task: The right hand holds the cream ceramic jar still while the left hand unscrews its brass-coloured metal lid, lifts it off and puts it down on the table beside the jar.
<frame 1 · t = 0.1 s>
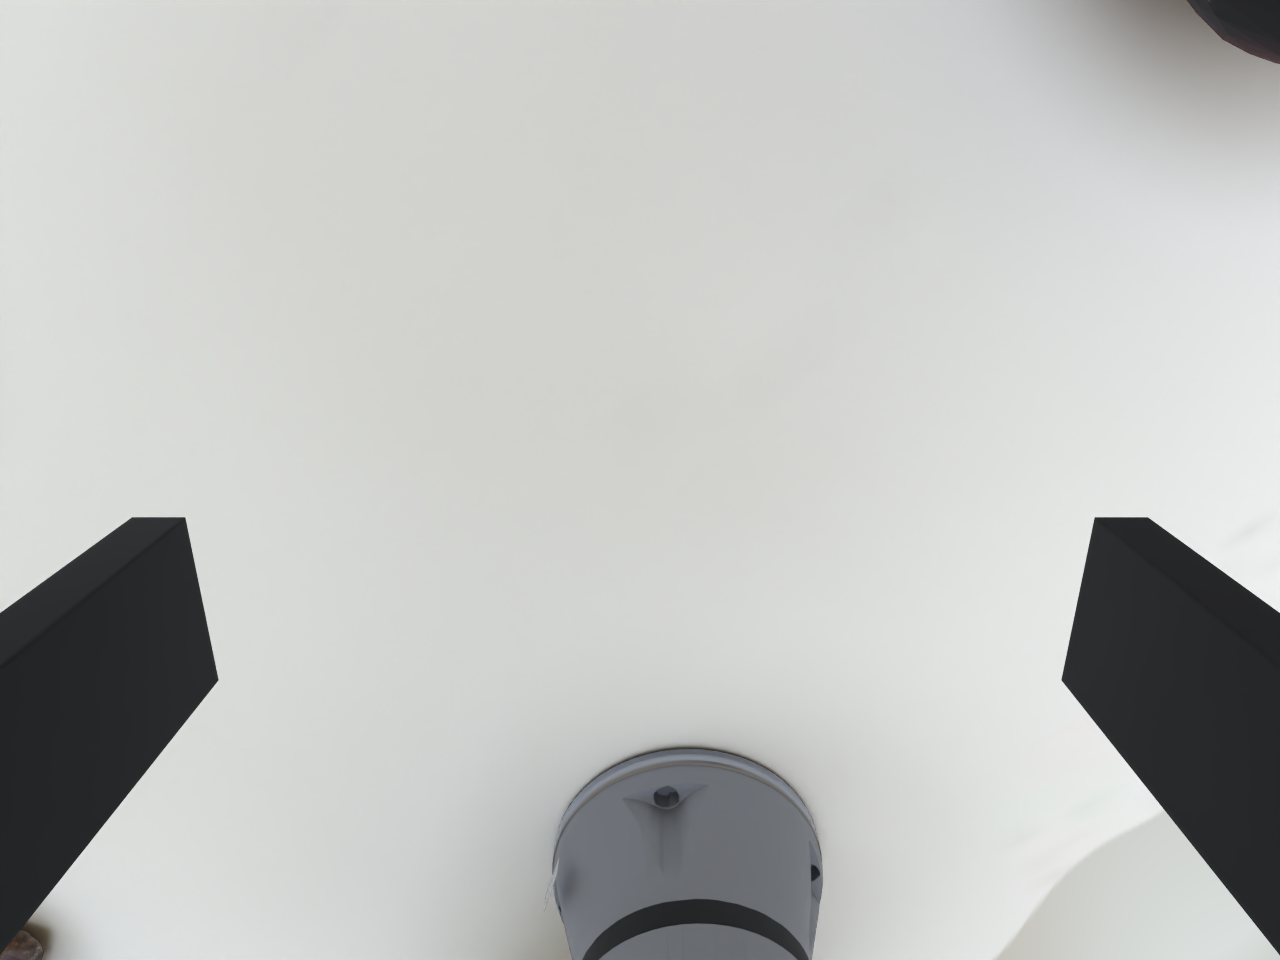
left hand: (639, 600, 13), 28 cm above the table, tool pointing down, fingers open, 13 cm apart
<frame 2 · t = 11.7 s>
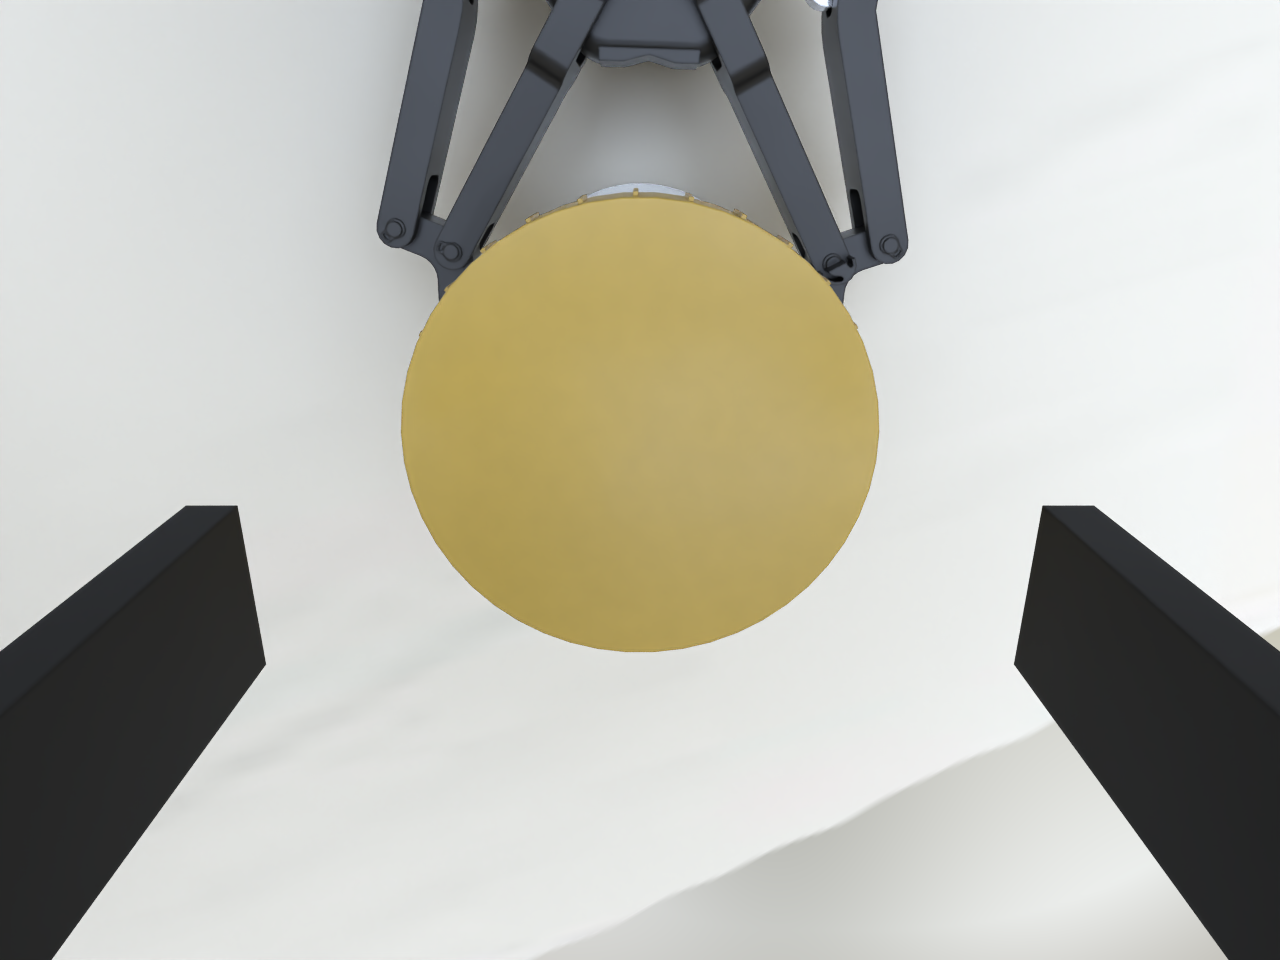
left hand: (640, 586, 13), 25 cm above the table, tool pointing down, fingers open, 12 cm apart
lid: (640, 442, 20), point 18 cm above the table, screwed on, not yet turned
jar: (640, 308, 36), on the table, touching right hand
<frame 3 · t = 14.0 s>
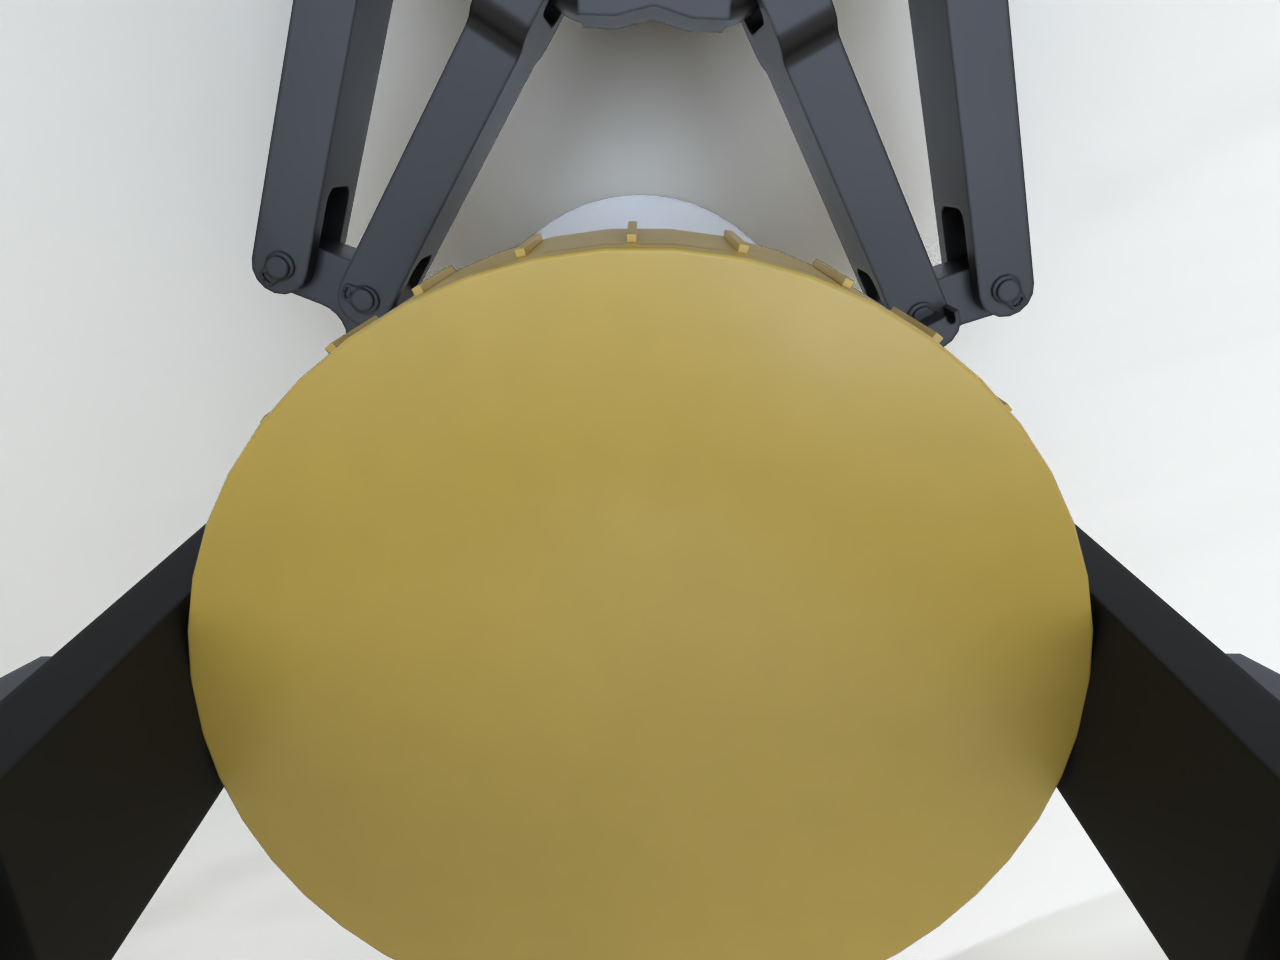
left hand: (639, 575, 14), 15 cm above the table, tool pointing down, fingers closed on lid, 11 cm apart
lid: (640, 689, 11), point 18 cm above the table, screwed on, not yet turned, touching left hand
jar: (639, 360, 27), on the table, touching right hand
when the left hand's fingers open (15 cm above the table, at t = 15.5 s): lid stays where it is, point 18 cm above the table.
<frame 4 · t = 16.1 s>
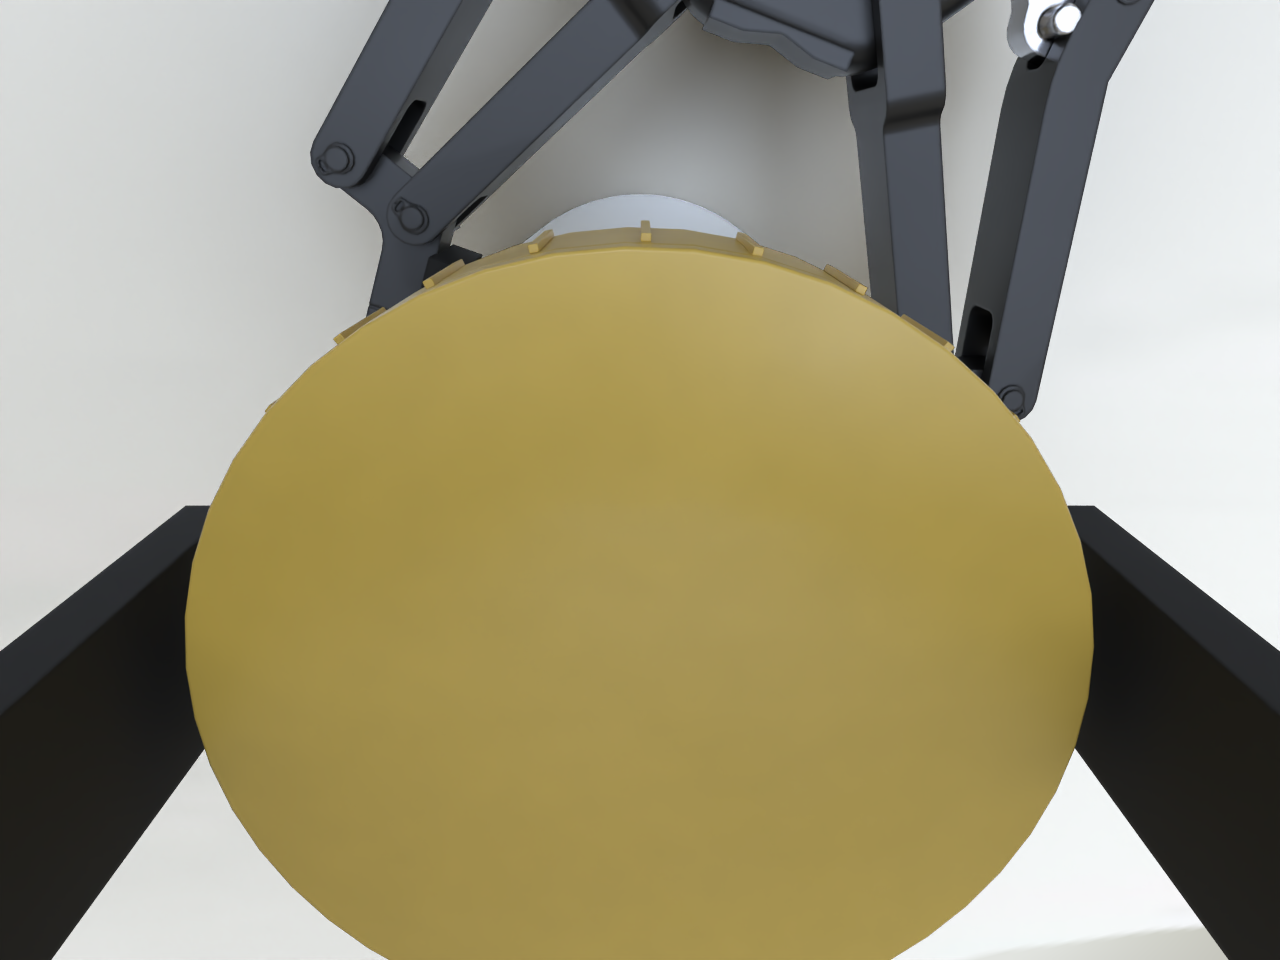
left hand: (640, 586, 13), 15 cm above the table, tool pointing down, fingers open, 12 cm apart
lid: (639, 691, 11), point 18 cm above the table, turned 90° so far, risen 0.3 cm, still on its thread
jar: (639, 358, 27), on the table, touching right hand
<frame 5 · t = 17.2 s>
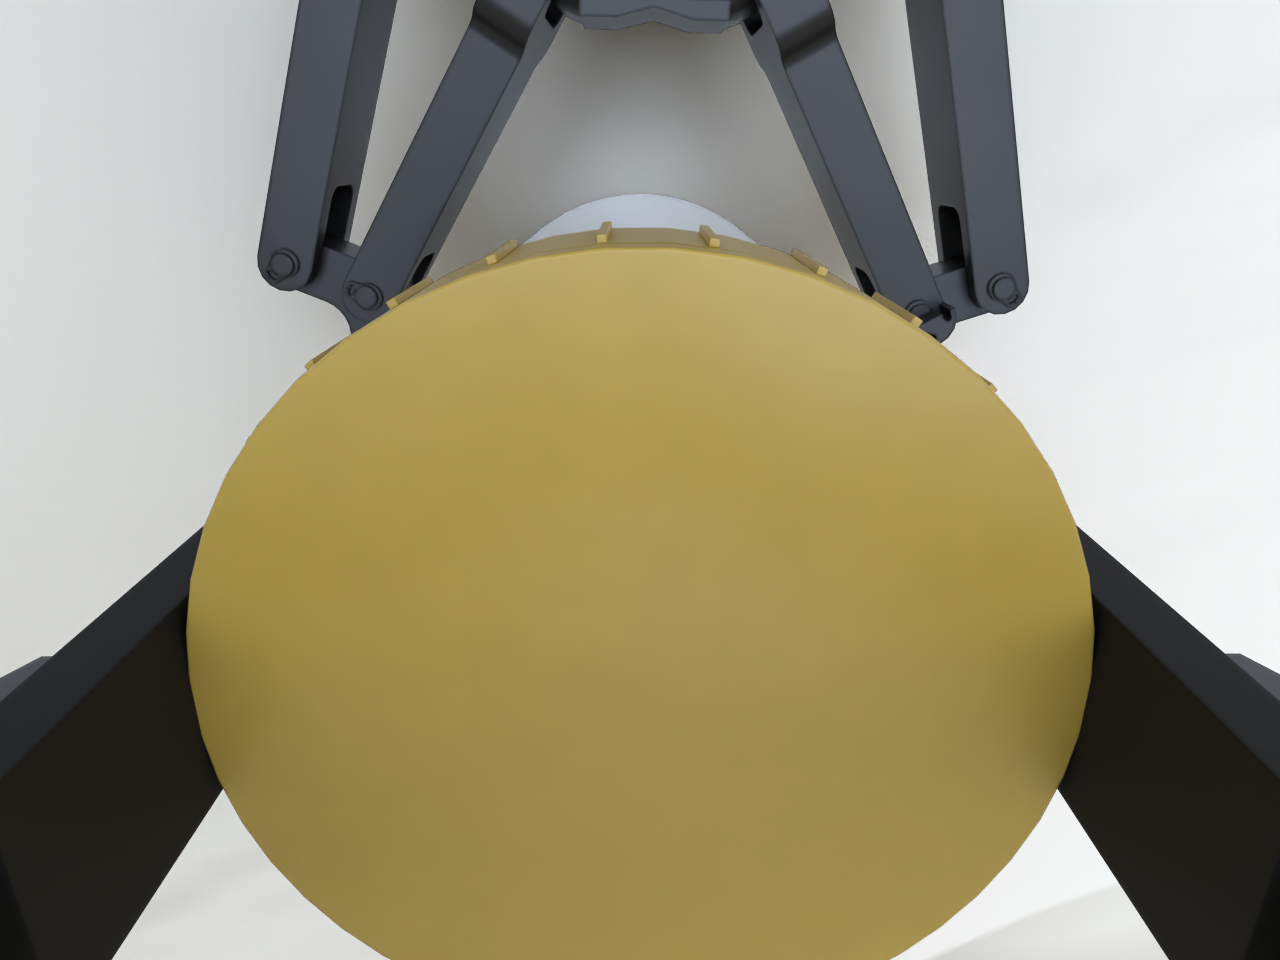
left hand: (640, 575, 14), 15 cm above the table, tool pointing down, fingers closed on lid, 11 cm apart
lid: (640, 690, 11), point 18 cm above the table, turned 90° so far, risen 0.3 cm, still on its thread, touching left hand
jar: (640, 358, 27), on the table, touching right hand
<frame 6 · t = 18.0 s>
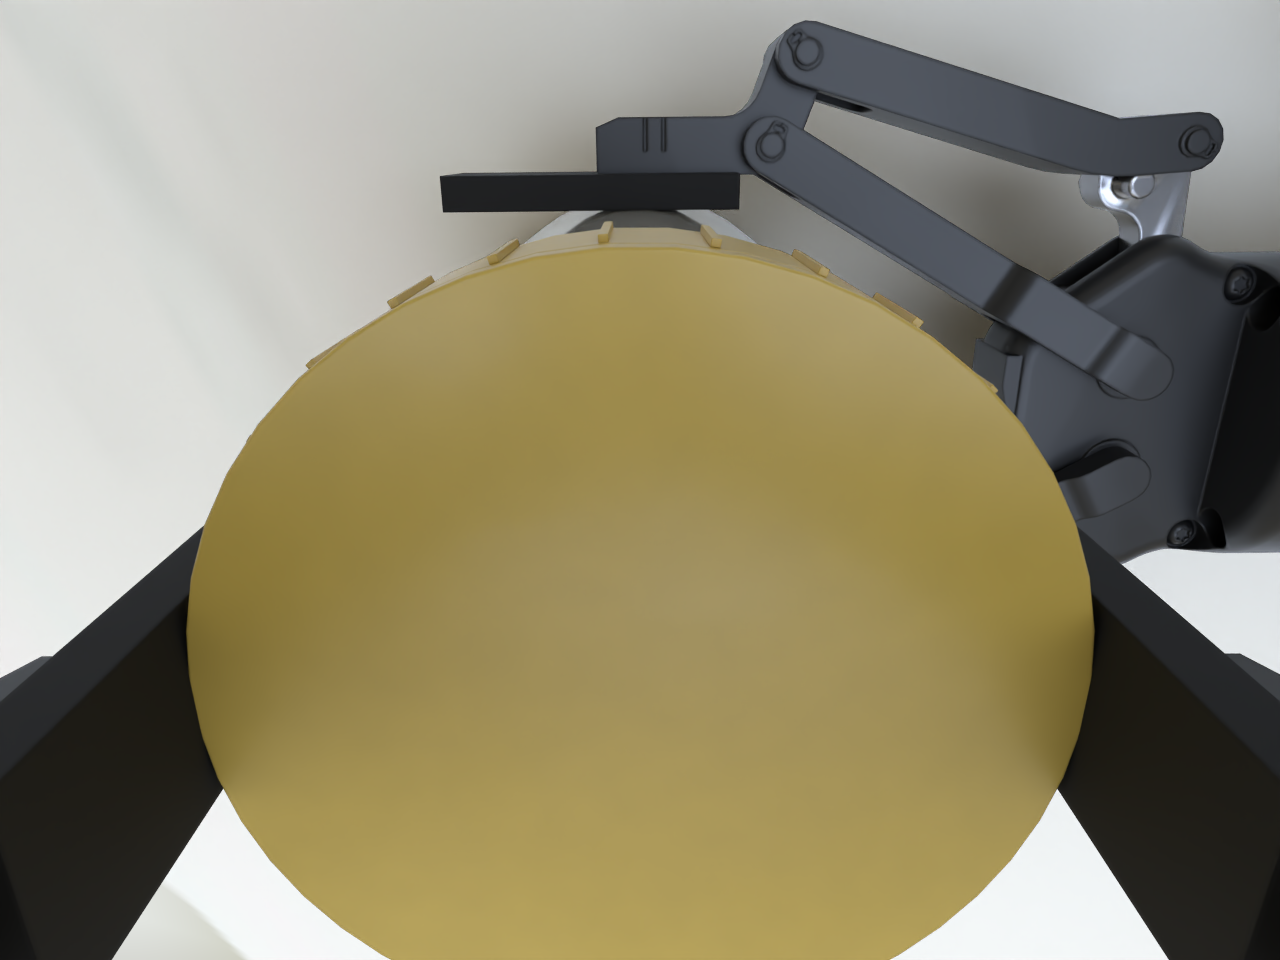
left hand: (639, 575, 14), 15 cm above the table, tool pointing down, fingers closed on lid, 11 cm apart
right hand: (471, 412, 22), fingers closed on jar, 10 cm apart
lid: (640, 690, 11), point 18 cm above the table, off its thread, touching left hand
jar: (640, 356, 28), on the table, touching right hand
when the left hand's fingers open (1 cm above the table, at t = 23.3 s): lid drops 2 cm, point 2 cm above the table.
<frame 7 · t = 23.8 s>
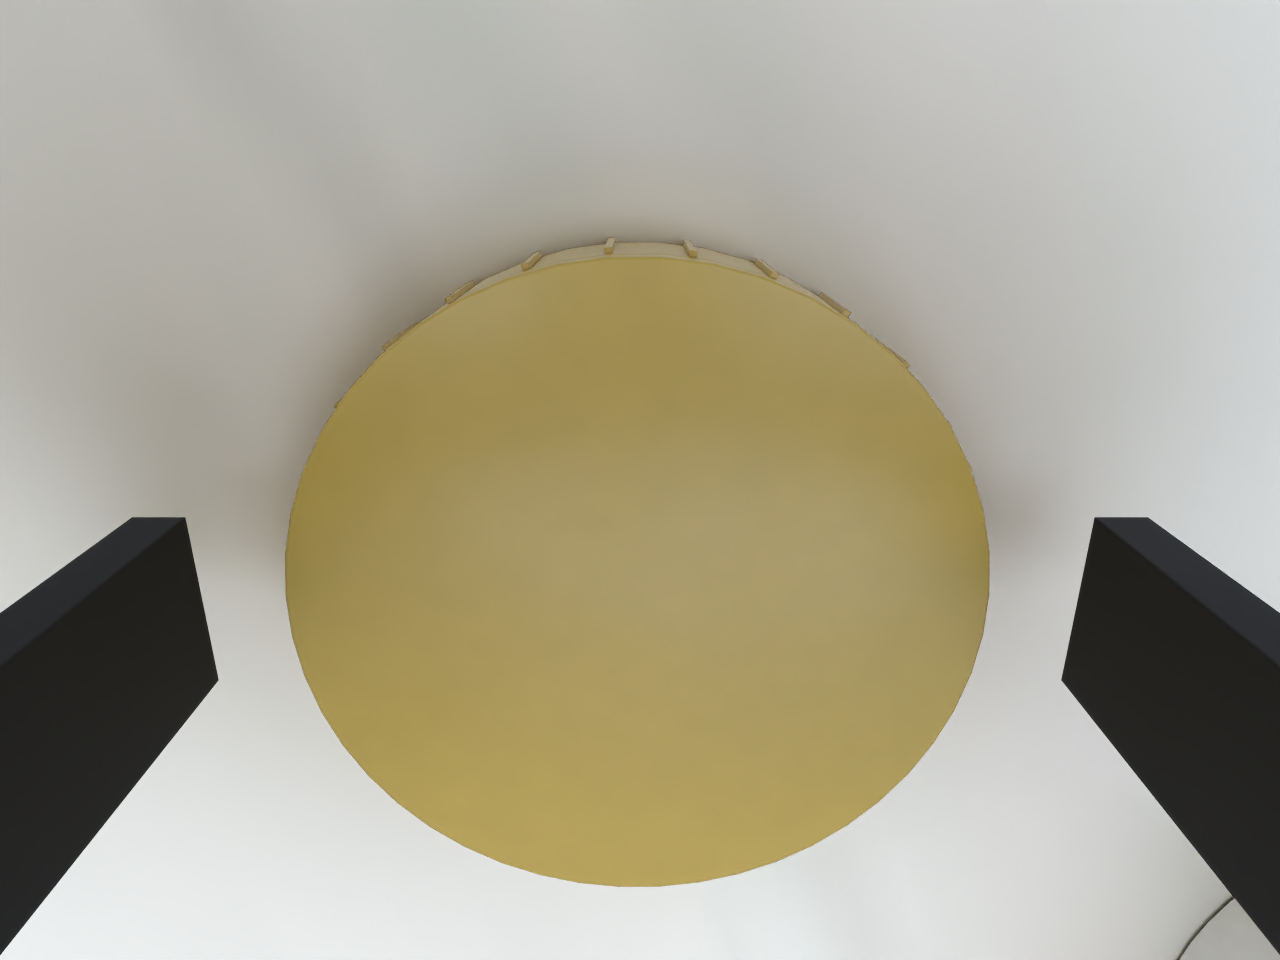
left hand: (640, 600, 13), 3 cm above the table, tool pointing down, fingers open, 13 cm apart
lid: (637, 605, 13), point 2 cm above the table, off its thread
when the right hand's fingers open (6 cm above the table, at t = 24.4 s): jar stays where it is, on the table.
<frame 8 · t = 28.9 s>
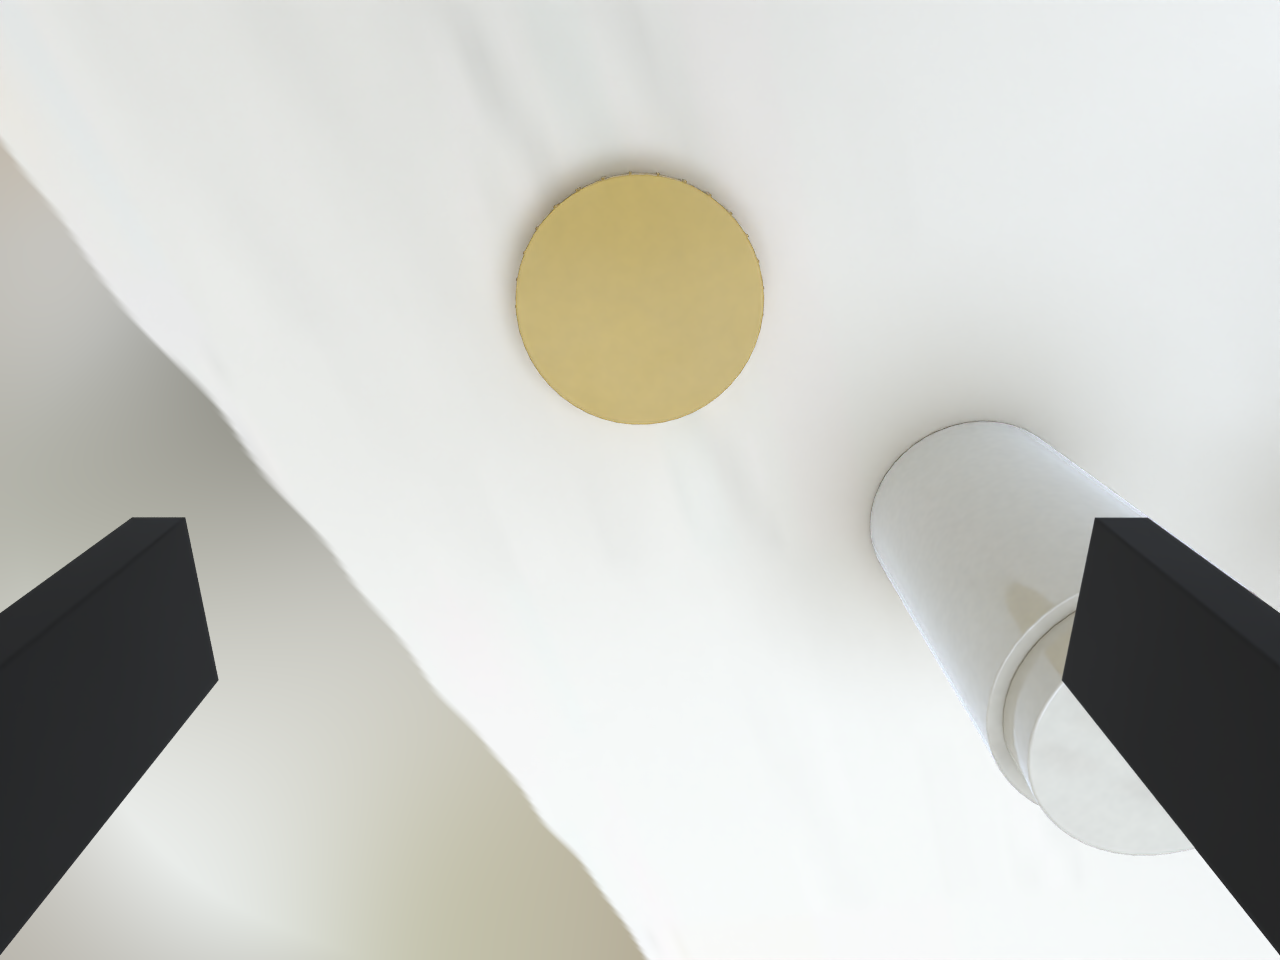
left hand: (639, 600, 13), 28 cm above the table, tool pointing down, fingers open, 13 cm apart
lid: (639, 304, 37), point 2 cm above the table, off its thread
jar: (969, 516, 43), on the table
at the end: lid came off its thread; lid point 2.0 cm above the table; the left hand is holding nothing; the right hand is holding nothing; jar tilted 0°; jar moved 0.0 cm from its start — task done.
